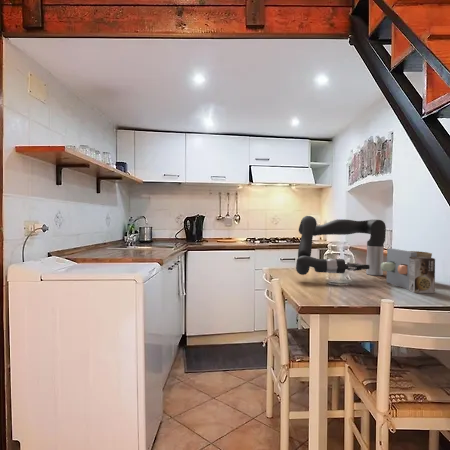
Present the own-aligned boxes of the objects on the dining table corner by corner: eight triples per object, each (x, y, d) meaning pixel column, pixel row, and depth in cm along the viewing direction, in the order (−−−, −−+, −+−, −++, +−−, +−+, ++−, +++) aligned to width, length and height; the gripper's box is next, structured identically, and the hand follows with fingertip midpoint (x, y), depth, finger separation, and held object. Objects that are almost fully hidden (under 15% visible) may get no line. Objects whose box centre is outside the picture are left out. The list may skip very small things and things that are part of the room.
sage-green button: (380, 270, 183) (380, 261, 183) (393, 270, 184) (393, 261, 184) (385, 271, 179) (385, 263, 179) (398, 271, 179) (398, 263, 179)
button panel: (386, 282, 187) (387, 248, 186) (391, 282, 187) (392, 248, 186) (409, 290, 167) (410, 252, 166) (415, 289, 167) (416, 252, 167)
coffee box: (428, 290, 166) (429, 256, 165) (435, 293, 159) (436, 258, 159) (408, 290, 167) (409, 256, 166) (414, 293, 160) (415, 257, 160)
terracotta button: (397, 273, 174) (397, 264, 173) (410, 273, 174) (411, 264, 174) (402, 274, 169) (403, 265, 169) (416, 274, 170) (416, 265, 170)
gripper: (332, 271, 190) (365, 272, 189) (337, 275, 177) (372, 276, 175) (332, 257, 190) (365, 258, 188) (337, 260, 177) (373, 261, 175)
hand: (369, 266), depth 182 cm, fingers closed
